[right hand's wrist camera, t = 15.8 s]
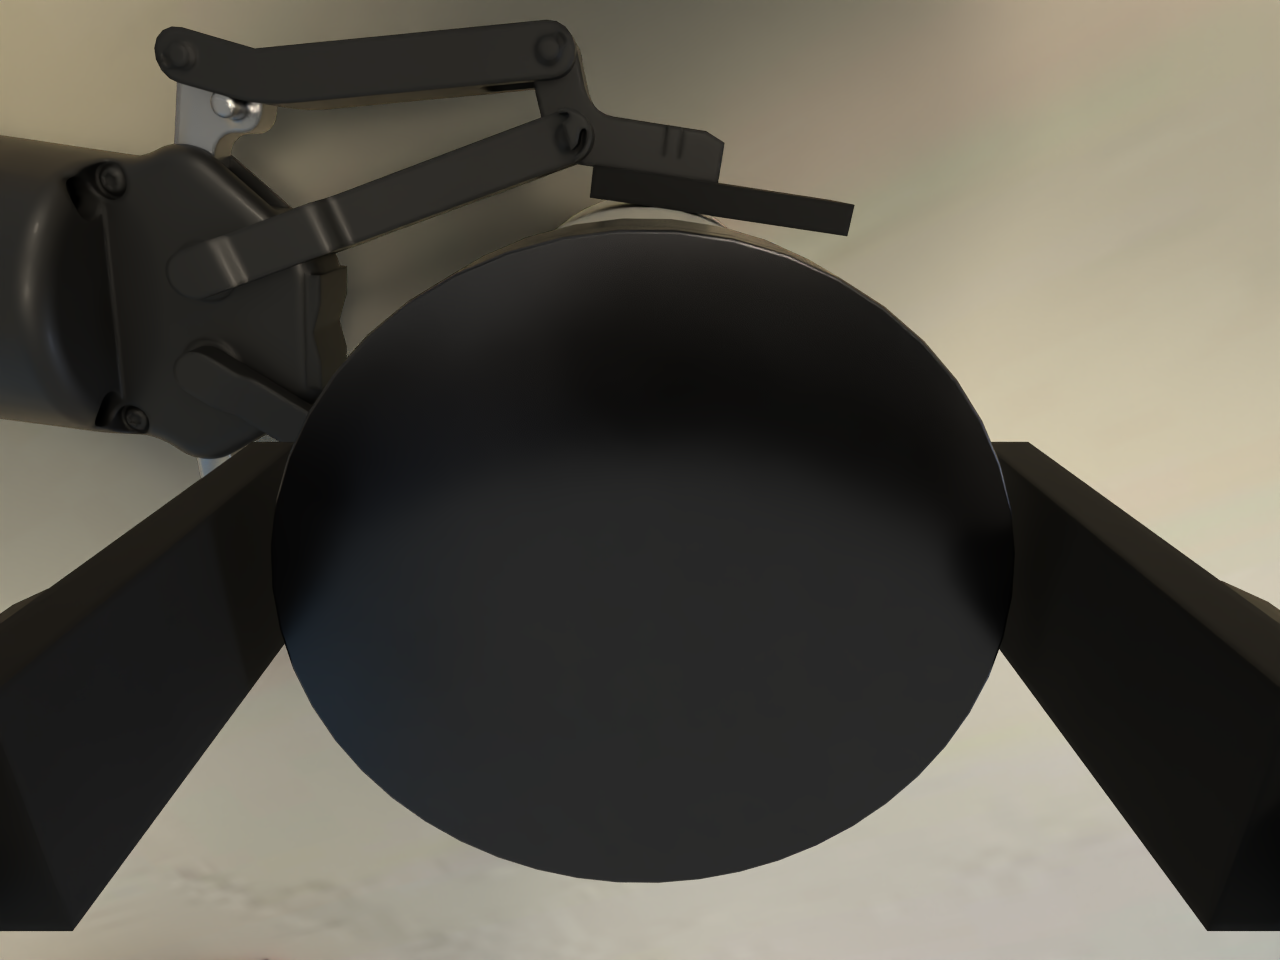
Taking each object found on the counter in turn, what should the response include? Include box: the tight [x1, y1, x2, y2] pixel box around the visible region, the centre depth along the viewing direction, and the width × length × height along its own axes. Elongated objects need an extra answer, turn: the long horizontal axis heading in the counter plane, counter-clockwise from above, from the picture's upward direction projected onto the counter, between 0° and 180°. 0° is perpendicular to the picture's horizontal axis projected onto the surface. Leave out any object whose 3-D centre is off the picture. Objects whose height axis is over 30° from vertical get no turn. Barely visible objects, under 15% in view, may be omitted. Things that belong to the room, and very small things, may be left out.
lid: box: [271, 218, 1015, 883], centre depth 11 cm, size 10×10×2 cm
